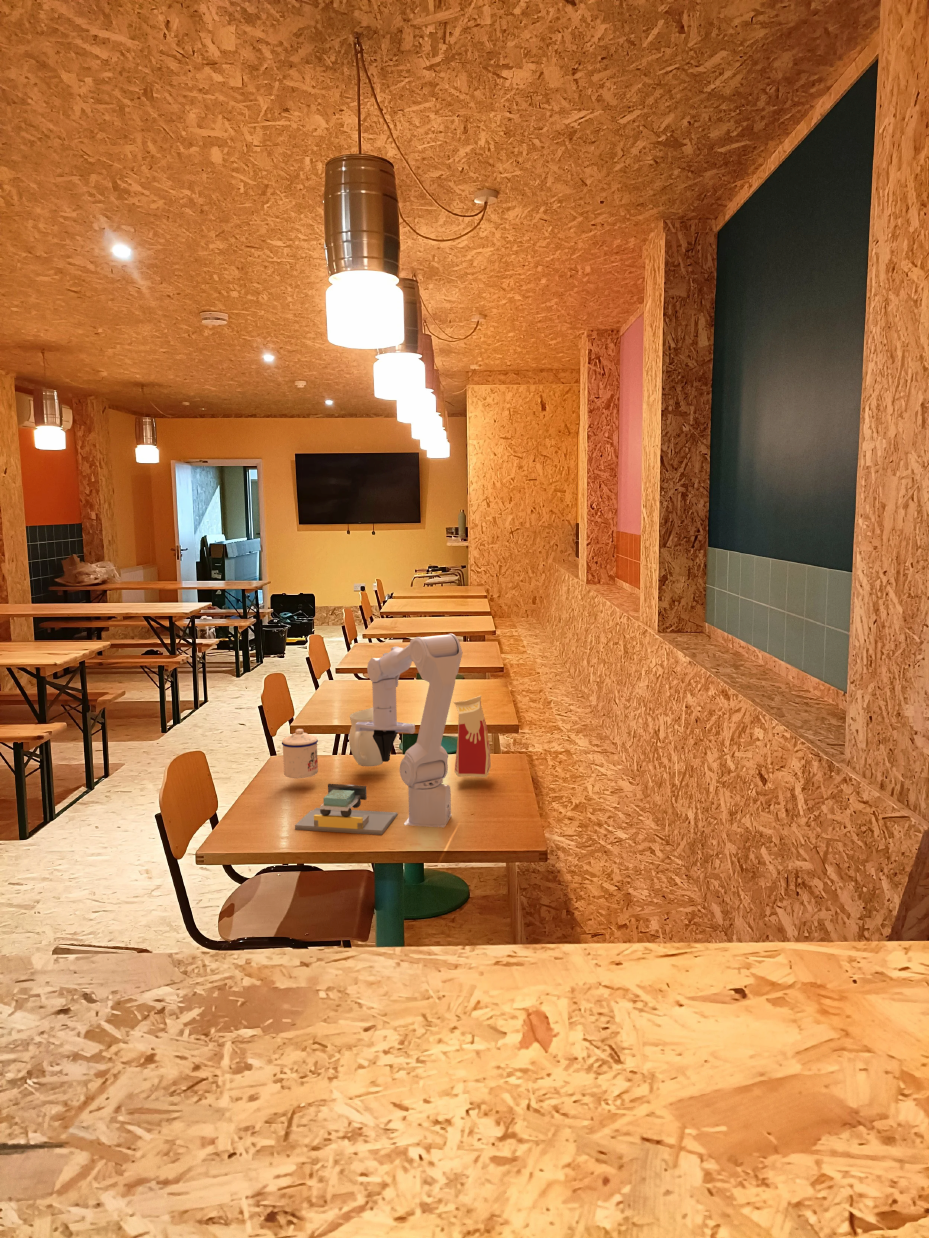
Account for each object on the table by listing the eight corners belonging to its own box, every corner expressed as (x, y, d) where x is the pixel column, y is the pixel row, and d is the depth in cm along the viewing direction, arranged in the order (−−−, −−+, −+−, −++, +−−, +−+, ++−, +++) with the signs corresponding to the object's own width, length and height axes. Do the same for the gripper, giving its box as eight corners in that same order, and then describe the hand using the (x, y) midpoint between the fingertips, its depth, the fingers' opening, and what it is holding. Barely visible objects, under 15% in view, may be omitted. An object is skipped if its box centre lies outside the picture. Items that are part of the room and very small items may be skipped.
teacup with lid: (315, 779, 202) (313, 733, 200) (279, 779, 202) (277, 734, 200) (323, 764, 214) (322, 722, 212) (289, 765, 214) (288, 722, 212)
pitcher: (336, 772, 207) (335, 720, 205) (362, 753, 224) (361, 705, 222) (376, 775, 204) (375, 722, 202) (399, 755, 221) (398, 707, 220)
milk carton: (490, 766, 210) (490, 692, 208) (488, 777, 201) (487, 699, 199) (456, 766, 211) (455, 691, 209) (452, 777, 202) (451, 699, 199)
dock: (397, 814, 185) (397, 800, 185) (381, 834, 173) (381, 819, 173) (316, 809, 189) (315, 795, 189) (295, 829, 177) (294, 814, 177)
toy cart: (367, 805, 182) (366, 785, 181) (353, 819, 173) (352, 798, 172) (329, 803, 184) (329, 783, 183) (314, 817, 175) (313, 795, 174)
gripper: (417, 703, 197) (418, 757, 198) (361, 701, 199) (362, 754, 201) (410, 709, 190) (411, 765, 192) (352, 708, 193) (353, 762, 194)
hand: (385, 760), depth 196 cm, fingers closed
